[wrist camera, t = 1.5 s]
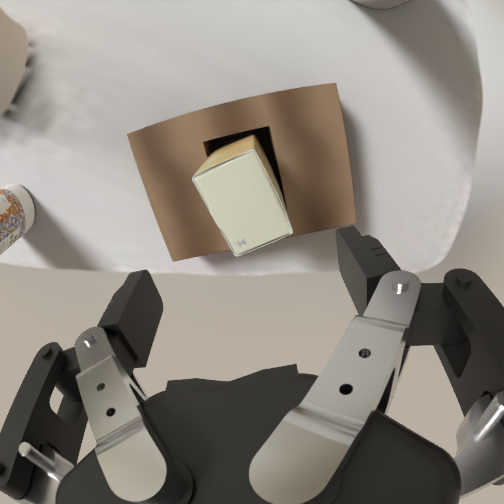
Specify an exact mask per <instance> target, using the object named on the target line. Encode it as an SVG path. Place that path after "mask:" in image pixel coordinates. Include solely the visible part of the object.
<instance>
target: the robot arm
mask: <svg viewBox="0 0 504 504" xmlns="http://www.w3.org/2000/svg"><path fill="white" fill-rule="evenodd" d="M353 1H355V2H356V3H358V4H361V5H364V6H366V7H370V8H375V9H388V8H393V7H395V6H397V5H399V4H401V3H404V2H406V1H408V0H353ZM336 240H337V250H338V261H339V268H340V272H341V275H342V278H343V280H344V283H345V285H346V287H347V289H348V291H349V294H350V296H351V298H352V300H353V302H354V305H355V307H356V309H357V311H358V314H359V315H356V316H355V317H354V318H353V320H352V321H351V323H350V324H349V326H348V328H347V330H346V332H345V333H344V335H343V337H342V339H341V340H340V342H339V344H338V345H337V347H336V349H335V350H334V352H333V354H332V356H331V357H330V359H329V360H328V362H327V364H326V365H325V367H324V368H323V370H322V372H321V373H320V375H319V376H317V375H313V374H302V373H298V370H297V365H296V364H293V365H287V366H282V367H276V368H271V369H264V370H261V371H258V372H255V373H252V374H250V375H247V376H244V377H241V378H238V379H235V380H232V381H227V382H226V381H216V380H206V379H198V378H195V379H183V380H171V381H168V383H167V387H166V391H163V392H160V393H157V394H155V395H153V396H152V397H150V398H148V396H147V395H146V393H145V391H144V390H143V388H142V386H141V384H140V382H139V381H138V379H137V377H136V376H135V374H134V373H133V369H134V368H140V367H141V368H142V367H146V364H147V360H148V357H149V354H150V351H151V347H152V343H153V341H154V337H155V334H156V331H157V328H158V325H159V322H160V319H161V316H162V312H163V303H162V299H161V296H160V294H159V292H158V290H157V288H156V286H155V284H154V282H153V280H152V277H151V275H150V273H149V272H148V271H147V270H141V271H136V272H132V273H130V274H129V275H128V277H127V279H126V281H125V283H124V284H123V286H121V287H120V289H119V290H117V292H116V293H115V294H114V296H113V297H112V300H111V302H110V303H109V305H108V306H107V309H106V310H105V312H104V314H103V316H102V318H101V320H100V321H99V323H98V325H97V327H92V328H89V329H87V330H86V331H84V332H83V333H82V334H81V335H80V336H79V337H78V338H77V340H76V342H75V347H73V348H70V349H67V350H65V351H63V350H62V348H61V347H60V346H59V344H58V343H56V342H52V343H48V344H47V345H45V346H44V347H42V348H41V349H40V350H39V352H38V353H37V354H36V356H35V358H34V360H33V362H32V364H31V366H30V368H29V370H28V372H27V374H26V376H25V378H24V380H23V382H22V384H21V386H20V388H19V390H18V392H17V395H16V397H15V399H14V401H13V404H12V406H11V408H10V410H9V413H8V415H7V418H6V420H5V422H4V425H3V427H2V430H1V433H0V491H2V492H4V493H5V494H7V495H8V496H10V497H11V498H12V499H13V500H15V501H17V502H19V503H20V504H458V503H459V500H460V499H462V498H464V497H467V496H469V495H471V494H473V493H475V492H477V491H479V490H481V489H483V488H485V487H487V486H489V485H491V484H493V485H502V484H504V307H503V306H502V304H501V303H500V302H499V300H498V299H497V298H496V297H495V296H494V294H493V293H492V292H491V290H490V289H489V288H488V287H487V286H486V284H485V283H484V282H483V281H482V279H481V278H480V277H479V276H478V275H477V274H476V273H474V272H472V271H470V270H467V269H453V270H450V271H449V272H447V273H446V274H445V276H444V282H443V283H421V281H420V279H419V278H418V277H417V276H416V275H415V274H413V273H411V272H408V271H402V270H401V269H400V268H399V266H398V265H397V264H396V262H395V261H394V260H393V258H392V257H391V256H390V254H388V252H387V251H386V249H385V248H383V245H382V244H381V243H380V242H379V240H377V239H375V238H374V237H372V236H370V235H366V236H361V234H360V233H359V232H358V230H357V229H356V228H355V226H350V227H346V228H341V229H337V230H336ZM419 345H420V346H421V345H433V346H434V348H435V350H436V352H437V354H438V356H439V358H440V360H441V363H442V365H443V367H444V369H445V371H446V373H447V376H448V378H449V380H450V383H451V385H452V387H453V390H454V392H455V394H456V397H457V399H458V402H459V404H460V406H461V409H462V411H463V414H464V417H465V418H464V419H463V421H462V422H461V424H460V426H459V428H458V431H457V435H456V438H457V445H458V447H457V448H458V450H457V454H456V457H455V458H452V457H451V456H450V454H449V453H447V452H446V451H445V450H444V449H442V448H441V447H439V446H437V445H435V444H434V443H432V442H430V441H428V440H427V439H425V438H423V437H422V436H420V435H418V434H416V433H415V432H413V431H411V430H410V429H408V428H407V427H405V426H403V425H402V424H400V423H398V422H397V421H395V420H393V419H392V418H390V417H389V416H387V415H386V414H387V412H388V410H389V407H390V405H391V402H392V399H393V396H394V393H395V390H396V387H397V385H398V382H399V379H400V377H401V374H402V371H403V369H404V366H405V363H406V360H407V358H408V355H409V352H410V349H411V346H419ZM54 387H56V388H57V389H58V390H59V391H60V392H61V393H62V394H63V395H64V396H63V399H62V401H61V404H60V407H59V410H58V413H57V414H55V413H54V412H53V411H52V409H51V407H50V403H49V401H50V397H51V394H52V392H53V389H54ZM88 420H89V423H90V426H91V428H92V431H93V434H94V437H95V440H96V443H97V446H96V447H95V448H94V449H93V450H92V451H91V452H90V453H89V454H88V455H86V456H85V457H84V458H83V459H82V460H81V461H80V462H79V463H78V464H77V460H78V456H79V451H80V447H81V443H82V440H83V436H84V432H85V428H86V424H87V421H88ZM76 464H77V465H76Z"/></svg>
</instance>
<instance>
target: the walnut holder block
mask: <svg viewBox="0 0 504 504" xmlns="http://www.w3.org/2000/svg"><path fill="white" fill-rule="evenodd" d="M266 126H267V127H268V131H269V135H270V140H271V144H272V148H273V153H274V157H275V162H276V166H277V171H278V176H279V180H280V185H281V190H282V196H283V200H284V203H285V206H286V210H287V213H288V217H289V220H290V224H291V227H292V230H293V233H292V234H290V235H288V236H286V237H284V238H287V237H292V236H297V235H302V234H307V233H311V232H316V231H321V230H326V229H331V228H336V227H340V226H345V225H350V224H355V223H356V214H355V204H354V194H353V185H352V176H351V169H350V161H349V154H348V147H347V140H346V134H345V128H344V122H343V116H342V111H341V105H340V100H339V95H338V90H337V85H336V83H330V84H322V85H315V86H308V87H302V88H295V89H289V90H284V91H278V92H273V93H268V94H263V95H258V96H253V97H249V98H244V99H240V100H236V101H232V102H228V103H224V104H220V105H216V106H212V107H209V108H205V109H201V110H198V111H194V112H191V113H188V114H184V115H181V116H178V117H175V118H172V119H169V120H166V121H163V122H160V123H157V124H154V125H151V126H148V127H145V128H143V129H140V130H137V131H135V132H132V133H129V134H127V136H128V139H129V142H130V145H131V148H132V152H133V155H134V158H135V161H136V164H137V167H138V170H139V173H140V176H141V178H142V181H143V184H144V187H145V190H146V193H147V196H148V198H149V201H150V204H151V207H152V209H153V212H154V215H155V217H156V220H157V223H158V225H159V228H160V230H161V233H162V236H163V238H164V241H165V243H166V246H167V248H168V251H169V253H170V256H171V258H172V261H173V262H174V261H179V260H184V259H188V258H193V257H198V256H202V255H207V254H212V253H216V252H221V251H226V250H230V249H231V248H230V247H229V245H228V243H227V241H226V240H225V238H224V236H223V234H222V233H221V231H220V229H219V227H218V226H217V224H216V222H215V221H214V219H213V217H212V215H211V214H210V212H209V210H208V208H207V206H206V204H205V202H204V201H203V199H202V197H201V195H200V193H199V192H198V190H197V188H196V186H195V184H194V182H193V180H192V177H193V176H194V174H195V173H196V172H197V171H198V169H199V168H200V167H201V166H202V164H203V163H204V162H205V161H206V160H207V158H208V157H209V156H210V155H211V154H212V152H213V151H214V150H213V146H212V143H211V140H212V139H215V138H219V137H223V136H227V135H231V134H235V133H239V132H244V131H248V130H252V129H257V128H262V127H266ZM282 239H283V238H282Z"/></svg>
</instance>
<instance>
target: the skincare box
mask: <svg viewBox="0 0 504 504" xmlns="http://www.w3.org/2000/svg"><path fill="white" fill-rule="evenodd" d="M192 180H193V182H194V184H195V186H196V188H197V190H198V192H199V193H200V195H201V197H202V199H203V201H204V202H205V204H206V206H207V208H208V210H209V212H210V214H211V215H212V217H213V219H214V221H215V222H216V224H217V226H218V227H219V229H220V231H221V233H222V234H223V236H224V238H225V240H226V241H227V243H228V245H229V247H230V248H231V250H232V252H233V254H234V255H235V256H236V257H238V256H240V255H243V254H245V253H248V252H250V251H253V250H255V249H258V248H260V247H263V246H265V245H268V244H270V243H273V242H275V241H277V240H279V239H282V238H284V237H286V236H288V235H290V234H292V233H293V230H292V227H291V224H290V220H289V217H288V213H287V210H286V206H285V203H284V200H283V196H282V193H281V189H280V186H279V182H278V180H277V177H276V175H275V172H274V170H273V168H272V166H271V163H270V161H269V159H268V157H267V155H266V153H265V151H264V149H263V147H262V145H261V143H260V141H259V139H258V137H257V135H256V133H255V132H254V131H252V132H249V133H247V134H244V135H242V136H240V137H237V138H235V139H233V140H231V141H228V142H226V143H224V144H222V145H220V146H218V147H217V148H216V149H215V150H214V151H213V152H212V154H211V155H210V156H209V157H208V158H207V160H206V161H205V162H204V163H203V164H202V166H201V167H200V168H199V169H198V171H197V172H196V173H195V174H194V176H193V177H192Z"/></svg>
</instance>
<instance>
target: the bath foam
mask: <svg viewBox="0 0 504 504" xmlns="http://www.w3.org/2000/svg"><path fill="white" fill-rule="evenodd" d="M34 218H35V210H34V204H33V201H32V199H31V197H30V195H29V193H28V192H27V191H26V190H25V189H24V188H23V187H22V186H20V185H18V184H9V185H7V186H5V187H3V188H1V189H0V255H1V254H2V253H3V252H4V251H5V250H6V249H8V248H9V247H10V246H11V245H12V244H13V243H14V242H15V241H17V240H18V239H19V238H20V237H21V236H22V235H23V234H25V233H26V232H27V231H28V230H29V229H30V228H31V227H32V225H33V222H34Z"/></svg>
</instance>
